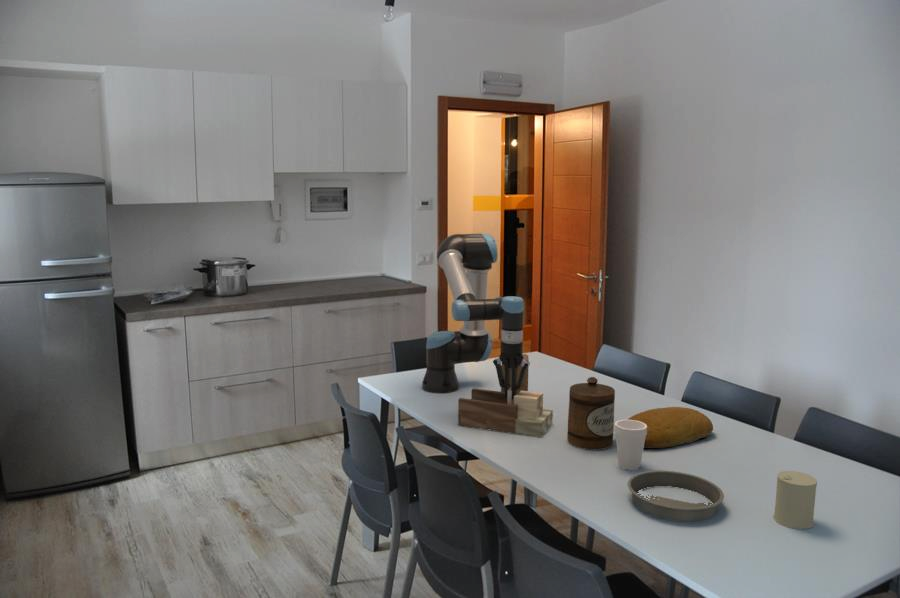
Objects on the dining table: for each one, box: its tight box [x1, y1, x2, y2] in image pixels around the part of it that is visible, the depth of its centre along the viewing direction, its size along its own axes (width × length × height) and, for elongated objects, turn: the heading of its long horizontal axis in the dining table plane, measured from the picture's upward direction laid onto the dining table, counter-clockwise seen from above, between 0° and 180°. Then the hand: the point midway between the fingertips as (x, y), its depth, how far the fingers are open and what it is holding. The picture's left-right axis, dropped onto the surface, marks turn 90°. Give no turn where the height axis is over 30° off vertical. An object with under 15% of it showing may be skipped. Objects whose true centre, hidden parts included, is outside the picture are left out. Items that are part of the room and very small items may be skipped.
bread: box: [626, 406, 714, 449], centre depth 241 cm, size 18×35×10 cm, turn 117°
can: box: [772, 470, 818, 530], centre depth 181 cm, size 9×9×12 cm
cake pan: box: [627, 470, 725, 522], centre depth 192 cm, size 25×25×4 cm
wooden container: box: [566, 376, 616, 450], centre depth 235 cm, size 15×15×22 cm
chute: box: [457, 387, 554, 438], centre depth 252 cm, size 15×30×10 cm, turn 68°
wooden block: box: [500, 353, 530, 394], centre depth 271 cm, size 10×10×20 cm
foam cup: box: [614, 419, 647, 471], centre depth 216 cm, size 10×9×13 cm
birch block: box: [514, 390, 544, 419], centre depth 248 cm, size 8×8×7 cm
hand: (510, 407), depth 251 cm, fingers closed
